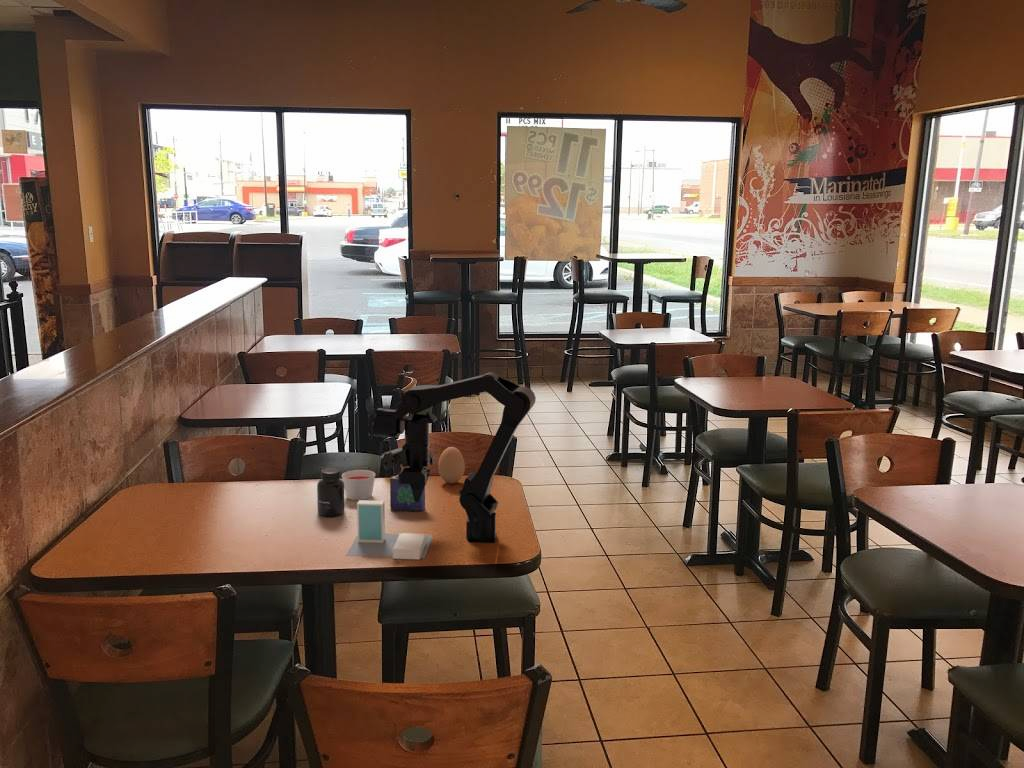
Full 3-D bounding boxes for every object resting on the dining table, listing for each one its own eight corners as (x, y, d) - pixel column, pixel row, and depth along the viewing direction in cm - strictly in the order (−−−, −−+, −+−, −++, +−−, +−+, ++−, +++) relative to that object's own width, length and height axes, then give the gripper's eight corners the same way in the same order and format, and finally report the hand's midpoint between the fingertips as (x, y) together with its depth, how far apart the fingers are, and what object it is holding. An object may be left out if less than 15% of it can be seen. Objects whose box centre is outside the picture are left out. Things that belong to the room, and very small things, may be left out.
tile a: (425, 533, 203) (419, 549, 194) (425, 544, 203) (419, 559, 194) (399, 533, 203) (392, 548, 194) (400, 543, 204) (393, 559, 194)
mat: (432, 537, 209) (432, 535, 209) (424, 559, 195) (424, 557, 195) (358, 535, 210) (358, 533, 210) (345, 557, 196) (345, 555, 196)
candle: (338, 494, 240) (338, 472, 239) (370, 490, 244) (370, 468, 242) (347, 503, 232) (346, 481, 231) (379, 499, 236) (379, 477, 234)
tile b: (385, 538, 206) (384, 500, 204) (383, 542, 204) (382, 504, 202) (360, 538, 206) (359, 500, 204) (357, 542, 204) (356, 503, 202)
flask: (425, 509, 229) (425, 470, 227) (424, 513, 226) (424, 473, 224) (391, 508, 229) (390, 469, 227) (389, 512, 226) (388, 472, 224)
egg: (454, 477, 256) (454, 442, 254) (469, 484, 250) (470, 447, 248) (433, 482, 251) (433, 446, 249) (448, 489, 245) (448, 452, 243)
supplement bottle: (318, 520, 219) (317, 475, 217) (317, 511, 226) (315, 467, 223) (345, 518, 221) (344, 473, 219) (343, 509, 227) (342, 465, 225)
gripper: (389, 428, 216) (390, 488, 219) (376, 448, 198) (377, 513, 201) (434, 429, 216) (434, 489, 219) (424, 449, 198) (424, 514, 201)
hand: (417, 501), depth 210 cm, fingers closed
